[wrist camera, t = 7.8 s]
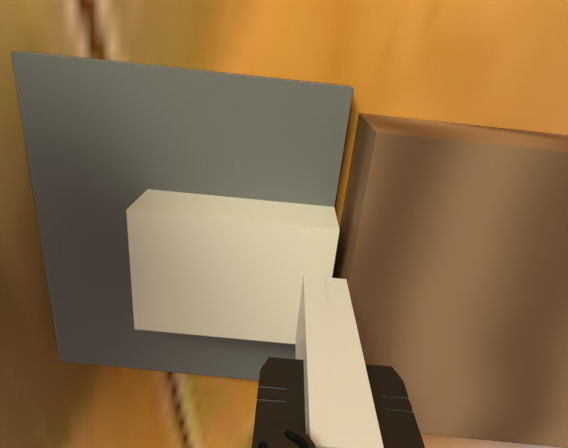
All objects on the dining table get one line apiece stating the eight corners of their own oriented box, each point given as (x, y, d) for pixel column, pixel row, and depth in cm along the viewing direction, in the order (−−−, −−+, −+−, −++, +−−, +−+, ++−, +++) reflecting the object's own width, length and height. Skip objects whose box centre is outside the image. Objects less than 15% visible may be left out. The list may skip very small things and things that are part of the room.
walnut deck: (317, 360, 22) (321, 424, 18) (359, 113, 17) (376, 132, 13) (593, 388, 22) (653, 456, 18) (720, 151, 17) (836, 180, 13)
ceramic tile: (152, 297, 20) (134, 329, 17) (147, 189, 17) (125, 209, 15) (318, 313, 20) (320, 346, 18) (334, 206, 18) (339, 230, 15)
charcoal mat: (67, 350, 22) (59, 361, 21) (23, 51, 16) (10, 51, 15) (305, 374, 22) (306, 385, 22) (350, 85, 16) (353, 87, 16)
